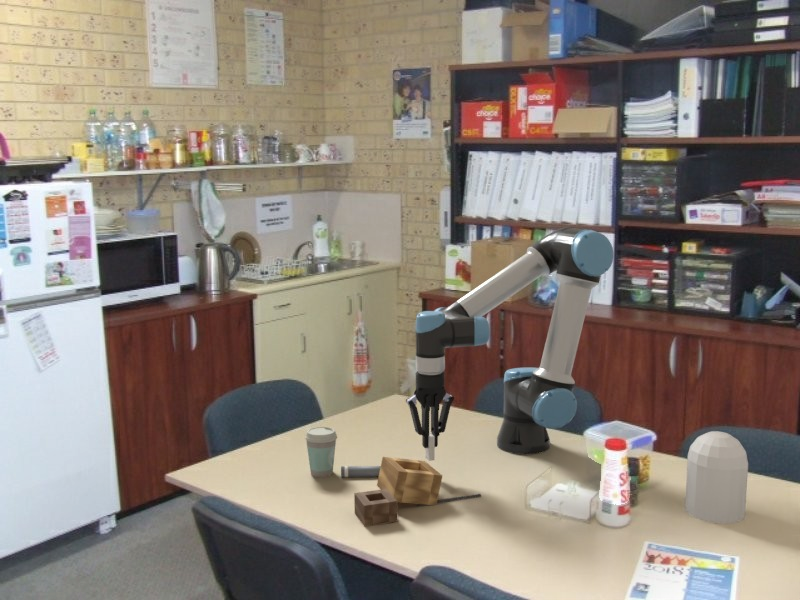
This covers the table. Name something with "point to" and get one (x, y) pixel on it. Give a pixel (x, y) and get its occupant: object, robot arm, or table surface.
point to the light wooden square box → (410, 480)
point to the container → (716, 478)
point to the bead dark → (375, 507)
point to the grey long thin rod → (455, 498)
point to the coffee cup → (321, 450)
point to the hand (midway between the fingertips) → (430, 458)
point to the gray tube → (360, 471)
